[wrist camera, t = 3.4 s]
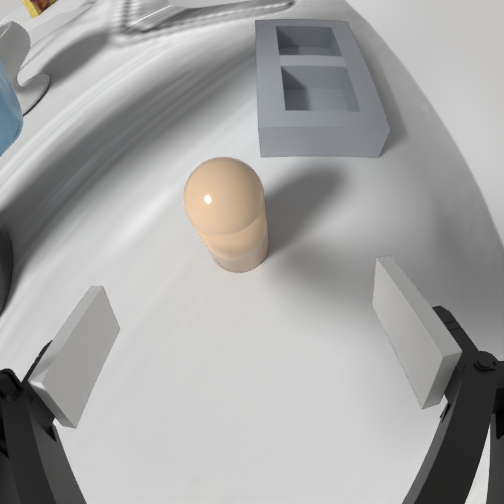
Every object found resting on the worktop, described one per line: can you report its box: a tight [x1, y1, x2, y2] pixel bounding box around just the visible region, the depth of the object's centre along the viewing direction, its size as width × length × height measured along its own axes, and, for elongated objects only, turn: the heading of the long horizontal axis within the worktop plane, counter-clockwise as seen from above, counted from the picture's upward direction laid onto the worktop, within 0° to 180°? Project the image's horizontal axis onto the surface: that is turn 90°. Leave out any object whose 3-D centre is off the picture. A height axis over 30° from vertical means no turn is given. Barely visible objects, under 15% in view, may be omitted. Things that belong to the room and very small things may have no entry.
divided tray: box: [255, 19, 391, 157], centre depth 31 cm, size 12×20×4 cm, turn 0°
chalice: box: [0, 21, 50, 115], centre depth 32 cm, size 14×14×15 cm
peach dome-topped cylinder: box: [183, 157, 268, 273], centre depth 22 cm, size 5×5×11 cm
